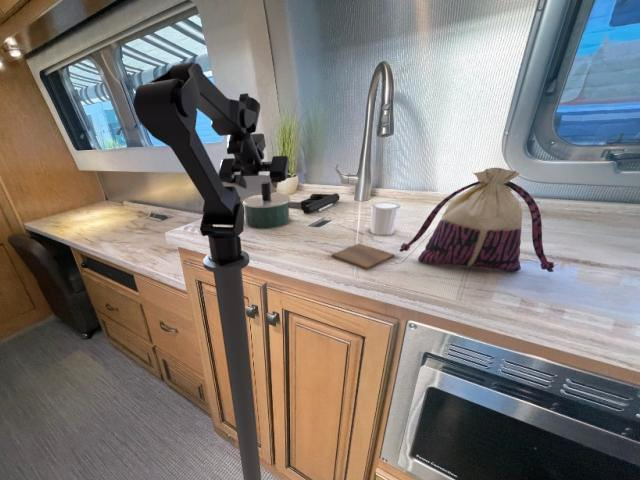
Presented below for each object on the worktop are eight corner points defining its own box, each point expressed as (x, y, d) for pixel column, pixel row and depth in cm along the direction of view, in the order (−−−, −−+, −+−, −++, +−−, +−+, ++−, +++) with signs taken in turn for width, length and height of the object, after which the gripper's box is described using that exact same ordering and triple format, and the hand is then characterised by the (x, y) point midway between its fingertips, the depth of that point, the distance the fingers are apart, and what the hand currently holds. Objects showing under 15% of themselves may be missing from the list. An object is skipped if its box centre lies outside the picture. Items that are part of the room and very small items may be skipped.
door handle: (273, 203, 109) (312, 206, 98) (305, 191, 120) (344, 192, 110) (274, 213, 110) (313, 216, 100) (306, 200, 122) (343, 202, 111)
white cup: (394, 227, 85) (399, 201, 81) (396, 236, 79) (401, 208, 76) (368, 227, 87) (371, 201, 83) (368, 235, 81) (371, 208, 78)
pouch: (396, 267, 65) (414, 170, 55) (398, 252, 71) (415, 162, 61) (553, 284, 54) (610, 168, 44) (540, 265, 60) (588, 159, 50)
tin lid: (261, 212, 88) (260, 190, 85) (234, 204, 99) (232, 184, 96) (300, 202, 94) (300, 180, 91) (270, 195, 105) (269, 176, 102)
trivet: (366, 269, 65) (366, 267, 65) (331, 256, 72) (331, 254, 72) (394, 256, 69) (394, 254, 69) (358, 245, 76) (359, 243, 76)
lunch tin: (263, 231, 91) (262, 210, 88) (238, 222, 102) (236, 202, 98) (297, 220, 97) (297, 200, 94) (270, 213, 107) (270, 194, 104)
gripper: (287, 119, 74) (297, 161, 88) (217, 125, 80) (237, 164, 95) (279, 160, 72) (290, 196, 86) (208, 163, 78) (229, 196, 93)
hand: (261, 187), depth 90 cm, fingers open, 9 cm apart
